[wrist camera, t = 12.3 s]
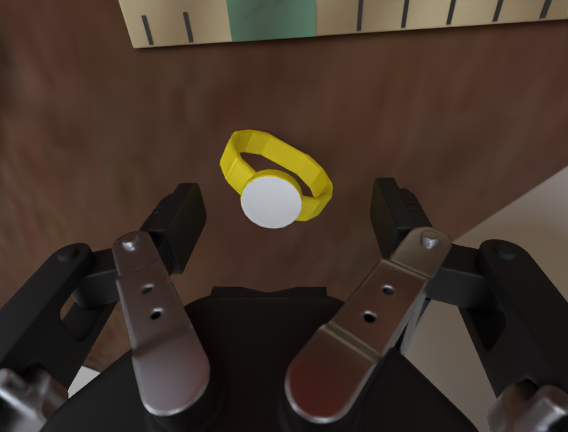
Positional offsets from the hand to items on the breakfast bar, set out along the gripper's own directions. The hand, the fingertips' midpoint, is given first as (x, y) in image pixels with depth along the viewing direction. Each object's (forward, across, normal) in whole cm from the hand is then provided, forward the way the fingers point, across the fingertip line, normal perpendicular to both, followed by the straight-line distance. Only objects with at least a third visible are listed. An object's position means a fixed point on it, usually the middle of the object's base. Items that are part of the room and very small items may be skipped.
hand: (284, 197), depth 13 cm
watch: (+6, 0, 0) cm, 6 cm away
